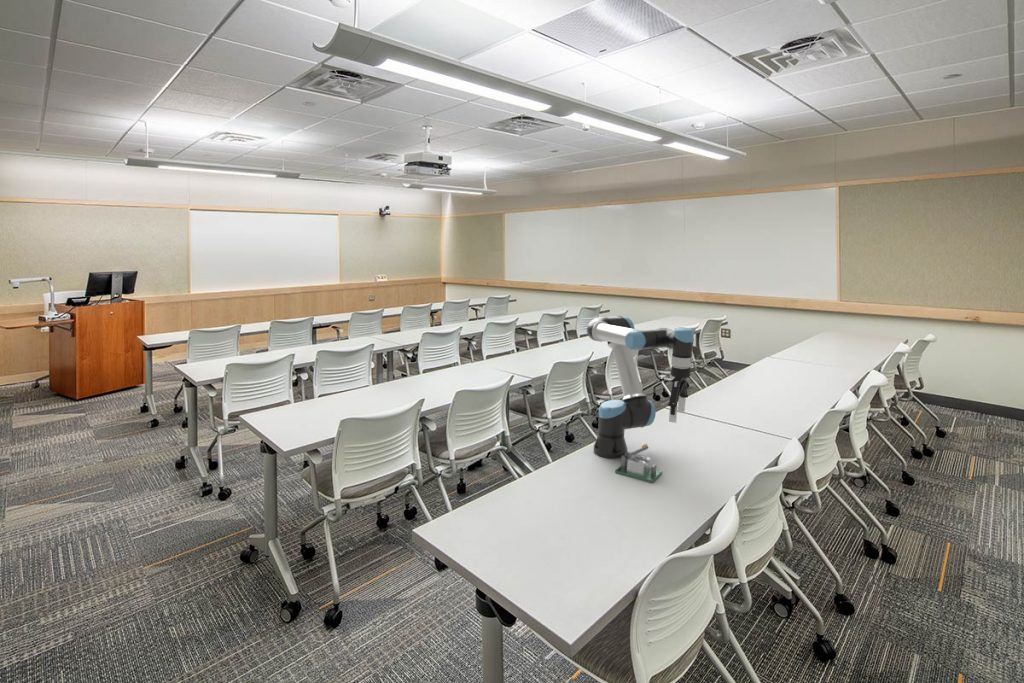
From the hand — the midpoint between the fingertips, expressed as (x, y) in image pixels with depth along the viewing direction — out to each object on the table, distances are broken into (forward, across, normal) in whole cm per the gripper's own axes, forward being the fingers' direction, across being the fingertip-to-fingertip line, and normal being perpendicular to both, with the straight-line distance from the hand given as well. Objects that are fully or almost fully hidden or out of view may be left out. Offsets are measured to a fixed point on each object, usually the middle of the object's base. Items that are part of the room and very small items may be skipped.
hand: (676, 417), depth 212 cm
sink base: (+24, -9, +11) cm, 28 cm away
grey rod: (+16, -9, +13) cm, 22 cm away
